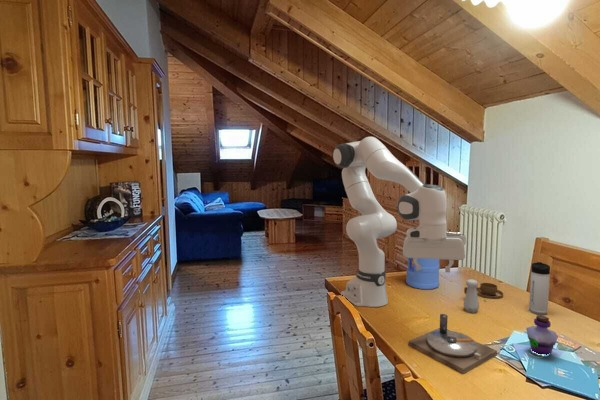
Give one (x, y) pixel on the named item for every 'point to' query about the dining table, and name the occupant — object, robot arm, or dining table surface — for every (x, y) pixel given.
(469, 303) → the salt shaker
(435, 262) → the water jug
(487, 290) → the brown cup and saucer
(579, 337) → the dining table surface
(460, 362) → the stand
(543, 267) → the travel mug
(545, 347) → the potion bottle
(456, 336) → the dial
